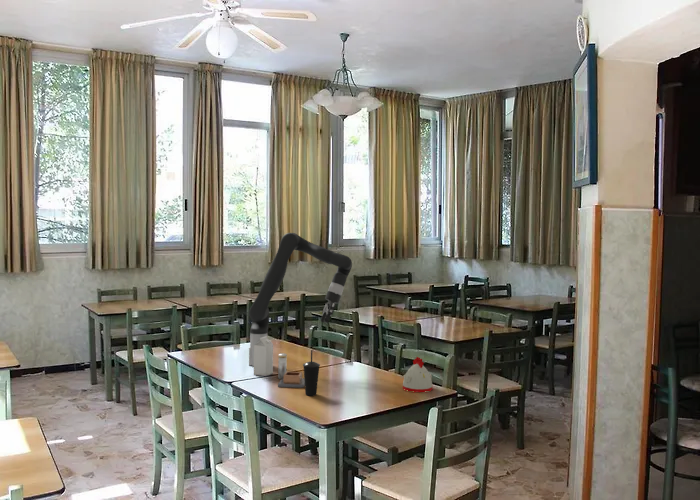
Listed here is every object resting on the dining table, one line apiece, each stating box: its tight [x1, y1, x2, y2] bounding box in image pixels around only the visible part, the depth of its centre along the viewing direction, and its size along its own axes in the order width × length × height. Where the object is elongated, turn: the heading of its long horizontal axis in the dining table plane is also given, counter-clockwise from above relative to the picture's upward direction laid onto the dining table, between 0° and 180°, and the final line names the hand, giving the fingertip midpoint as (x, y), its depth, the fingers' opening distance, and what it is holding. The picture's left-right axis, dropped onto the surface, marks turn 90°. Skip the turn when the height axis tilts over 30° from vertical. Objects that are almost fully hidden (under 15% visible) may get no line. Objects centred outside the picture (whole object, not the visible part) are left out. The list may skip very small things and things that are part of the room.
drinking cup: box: [302, 349, 321, 397], centre depth 280 cm, size 8×8×20 cm
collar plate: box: [277, 371, 305, 389], centre depth 298 cm, size 12×12×5 cm
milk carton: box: [253, 335, 274, 377], centre depth 317 cm, size 7×7×19 cm
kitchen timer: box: [402, 356, 433, 393], centre depth 294 cm, size 14×14×15 cm
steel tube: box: [277, 352, 288, 380], centre depth 309 cm, size 4×4×12 cm
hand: (324, 322), depth 324 cm, fingers open, 8 cm apart
